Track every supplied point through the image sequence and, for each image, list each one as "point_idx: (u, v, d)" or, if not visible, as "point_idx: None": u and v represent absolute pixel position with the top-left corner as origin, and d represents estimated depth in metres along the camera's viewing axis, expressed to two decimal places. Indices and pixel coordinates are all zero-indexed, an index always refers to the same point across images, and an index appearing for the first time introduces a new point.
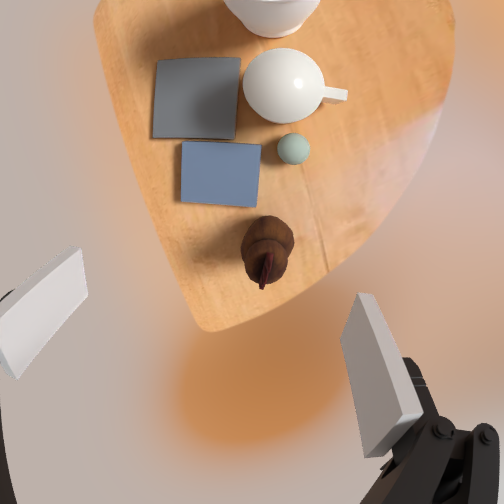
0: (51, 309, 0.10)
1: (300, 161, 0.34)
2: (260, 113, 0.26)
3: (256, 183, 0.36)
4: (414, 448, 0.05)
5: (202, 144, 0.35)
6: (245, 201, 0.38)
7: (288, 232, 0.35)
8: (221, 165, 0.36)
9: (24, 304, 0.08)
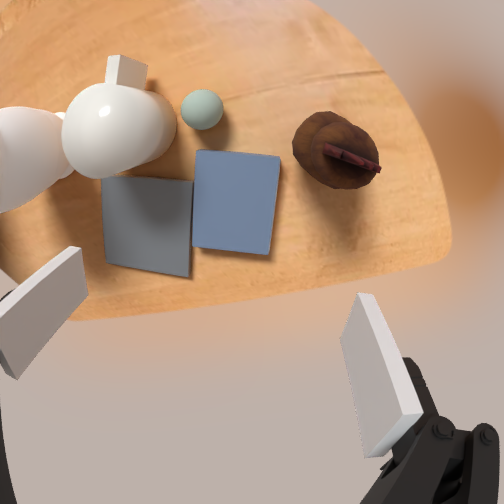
0: (51, 309, 0.10)
1: (215, 100, 0.23)
2: (130, 156, 0.20)
3: (246, 156, 0.27)
4: (414, 448, 0.05)
5: (195, 222, 0.30)
6: (271, 171, 0.27)
7: (310, 118, 0.21)
8: (222, 200, 0.29)
9: (24, 304, 0.08)
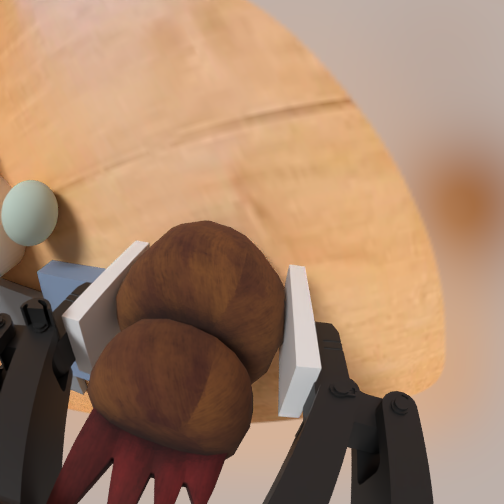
0: None
1: (29, 206, 0.12)
2: None
3: None
4: (311, 410, 0.07)
5: None
6: None
7: (137, 263, 0.10)
8: None
9: (106, 297, 0.10)
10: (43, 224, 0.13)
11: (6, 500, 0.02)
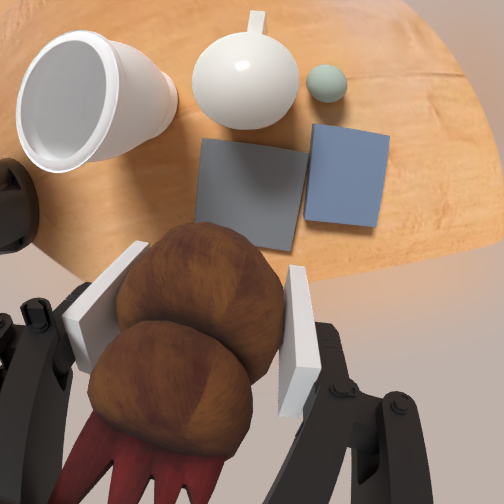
0: None
1: (344, 76, 0.23)
2: (285, 110, 0.20)
3: (361, 132, 0.26)
4: (311, 410, 0.07)
5: (310, 195, 0.29)
6: (383, 148, 0.26)
7: (136, 265, 0.10)
8: (338, 173, 0.28)
9: (106, 297, 0.10)
10: (346, 89, 0.24)
11: (6, 500, 0.02)
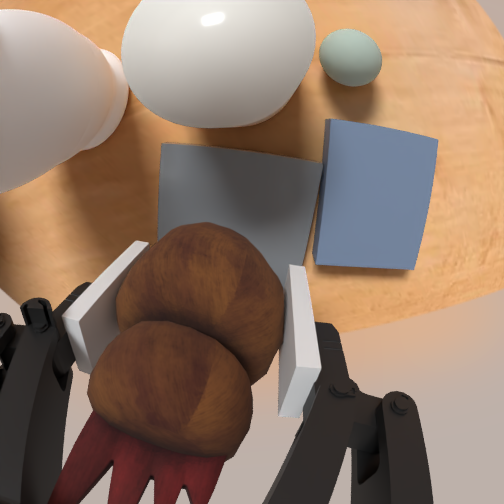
0: None
1: (377, 47, 0.13)
2: (289, 89, 0.10)
3: (400, 133, 0.16)
4: (311, 410, 0.07)
5: (325, 228, 0.19)
6: (429, 157, 0.17)
7: (136, 265, 0.10)
8: (366, 195, 0.18)
9: (106, 297, 0.10)
10: (380, 68, 0.14)
11: (6, 500, 0.02)
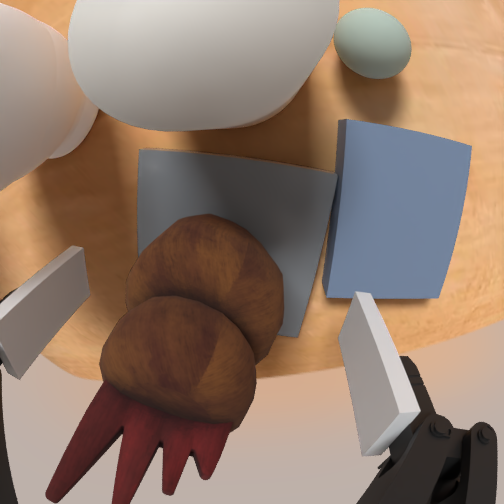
0: (53, 308, 0.10)
1: (406, 32, 0.09)
2: (302, 71, 0.06)
3: (430, 137, 0.13)
4: (411, 447, 0.05)
5: (338, 256, 0.16)
6: (461, 167, 0.13)
7: (146, 250, 0.11)
8: (389, 214, 0.15)
9: (26, 303, 0.08)
10: (409, 57, 0.10)
11: None
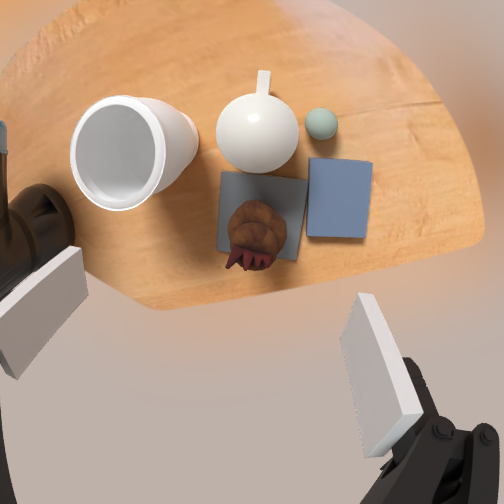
0: (51, 309, 0.10)
1: (335, 118, 0.30)
2: (288, 157, 0.27)
3: (349, 162, 0.33)
4: (414, 448, 0.05)
5: (310, 216, 0.37)
6: (367, 173, 0.34)
7: (237, 211, 0.32)
8: (331, 197, 0.35)
9: (24, 304, 0.08)
10: (337, 128, 0.31)
11: None
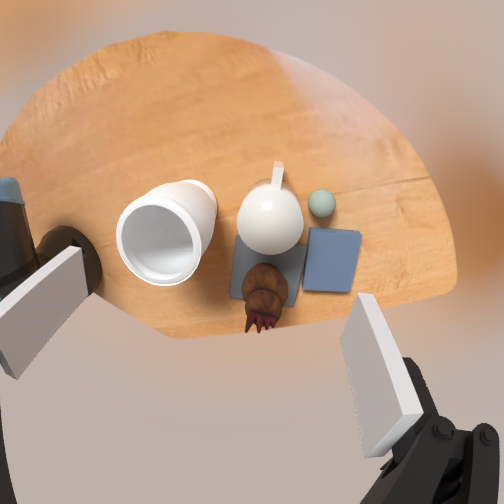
0: (51, 309, 0.10)
1: (333, 200, 0.39)
2: (293, 243, 0.36)
3: (342, 234, 0.42)
4: (414, 448, 0.05)
5: (306, 275, 0.45)
6: (356, 243, 0.43)
7: (250, 277, 0.41)
8: (325, 261, 0.44)
9: (24, 304, 0.08)
10: (334, 208, 0.40)
11: None
